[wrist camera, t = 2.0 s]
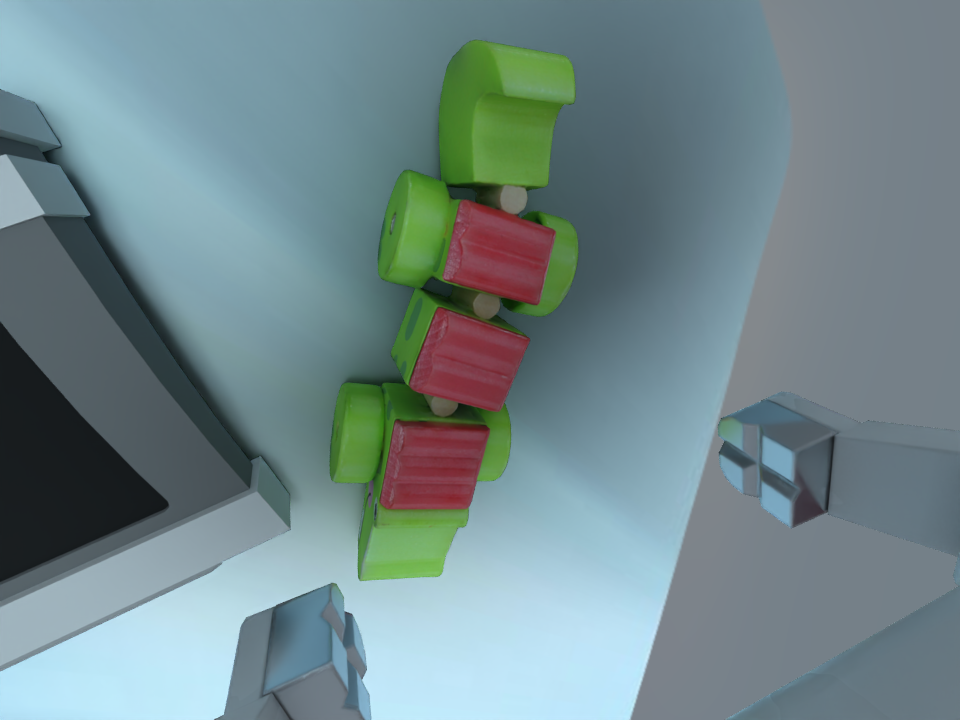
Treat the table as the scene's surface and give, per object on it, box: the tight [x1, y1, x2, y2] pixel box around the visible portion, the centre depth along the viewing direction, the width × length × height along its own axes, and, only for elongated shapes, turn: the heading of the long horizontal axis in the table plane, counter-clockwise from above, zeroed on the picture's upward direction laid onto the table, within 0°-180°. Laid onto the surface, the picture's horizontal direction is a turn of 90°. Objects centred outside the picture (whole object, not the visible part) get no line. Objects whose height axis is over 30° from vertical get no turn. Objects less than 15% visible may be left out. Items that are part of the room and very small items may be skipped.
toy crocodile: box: [330, 40, 578, 581], centre depth 17 cm, size 20×7×6 cm, turn 163°
